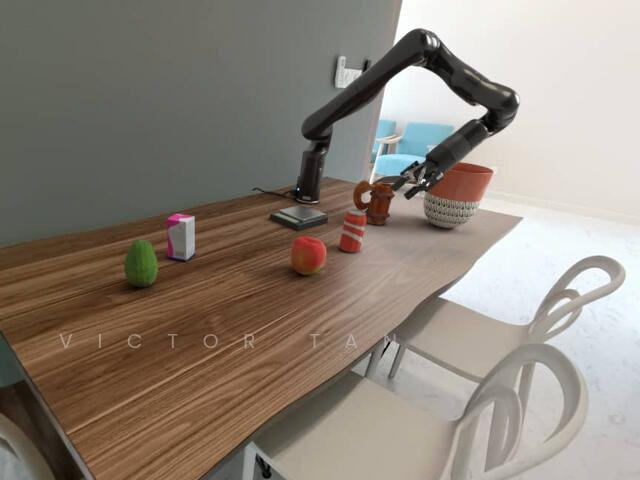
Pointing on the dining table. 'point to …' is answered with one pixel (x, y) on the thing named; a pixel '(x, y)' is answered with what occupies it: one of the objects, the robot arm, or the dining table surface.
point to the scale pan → (302, 213)
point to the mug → (374, 201)
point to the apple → (307, 255)
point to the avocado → (141, 264)
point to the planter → (457, 195)
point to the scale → (296, 221)
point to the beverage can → (353, 230)
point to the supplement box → (181, 237)
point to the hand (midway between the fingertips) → (398, 193)
